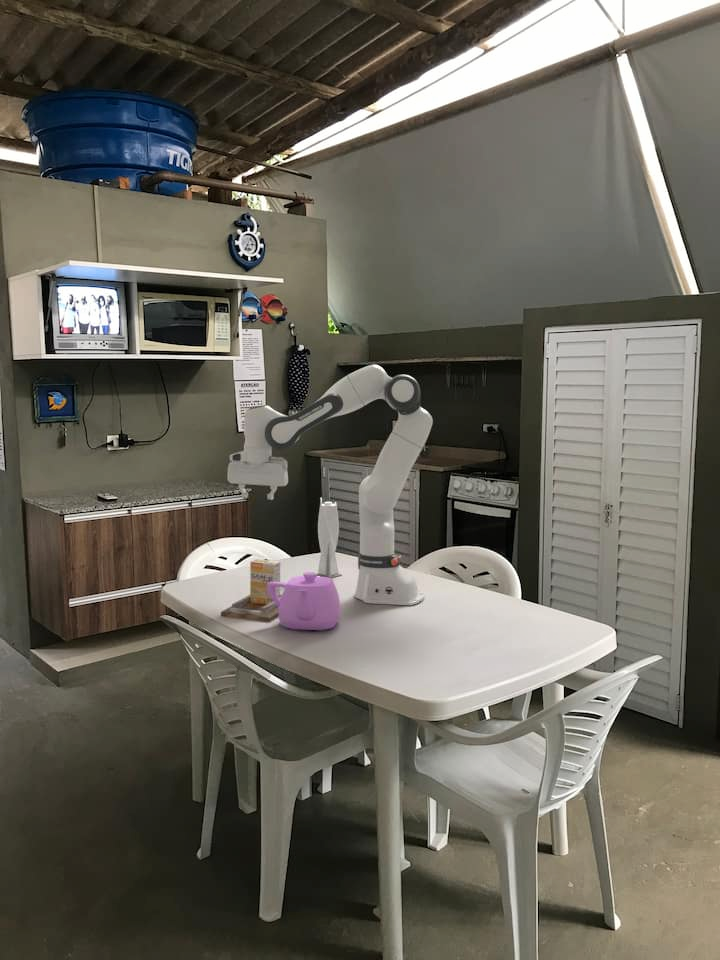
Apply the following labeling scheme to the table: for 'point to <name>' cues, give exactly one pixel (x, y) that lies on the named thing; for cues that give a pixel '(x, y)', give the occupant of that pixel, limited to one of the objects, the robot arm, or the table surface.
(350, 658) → the table surface
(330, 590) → the teapot
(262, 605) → the rail board
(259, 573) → the supplement box
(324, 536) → the skyscraper
